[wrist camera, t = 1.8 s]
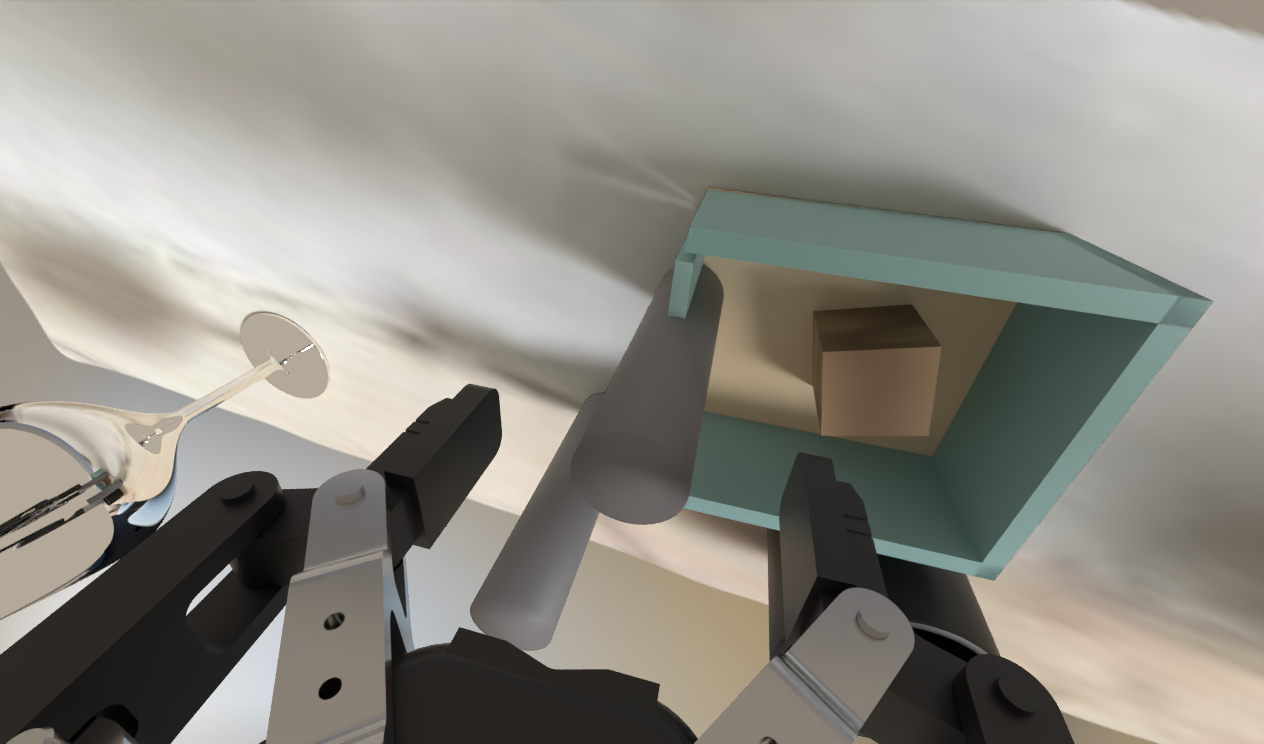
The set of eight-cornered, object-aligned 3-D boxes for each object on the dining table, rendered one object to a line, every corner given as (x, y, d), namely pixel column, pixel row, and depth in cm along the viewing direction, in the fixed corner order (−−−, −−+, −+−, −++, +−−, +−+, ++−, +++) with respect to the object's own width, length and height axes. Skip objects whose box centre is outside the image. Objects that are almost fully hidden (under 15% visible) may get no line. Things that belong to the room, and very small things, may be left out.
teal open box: (1069, 233, 18) (1213, 301, 13) (938, 463, 25) (994, 580, 19) (709, 187, 21) (689, 226, 15) (674, 410, 27) (649, 500, 21)
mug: (906, 615, 31) (953, 786, 23) (739, 537, 31) (732, 684, 23) (1024, 532, 26) (1134, 718, 18) (824, 438, 26) (851, 585, 18)
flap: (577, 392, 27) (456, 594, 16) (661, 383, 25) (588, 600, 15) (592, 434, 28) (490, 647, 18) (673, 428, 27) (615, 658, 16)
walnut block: (912, 304, 20) (941, 346, 17) (903, 383, 22) (928, 435, 19) (813, 311, 22) (822, 352, 18) (812, 386, 23) (821, 435, 20)
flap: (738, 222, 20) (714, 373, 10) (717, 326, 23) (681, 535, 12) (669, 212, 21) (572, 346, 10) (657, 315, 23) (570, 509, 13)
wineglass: (362, 407, 33) (22, 681, 18) (272, 407, 35) (-98, 651, 20) (305, 295, 29) (-194, 524, 14) (208, 303, 31) (-314, 507, 16)
